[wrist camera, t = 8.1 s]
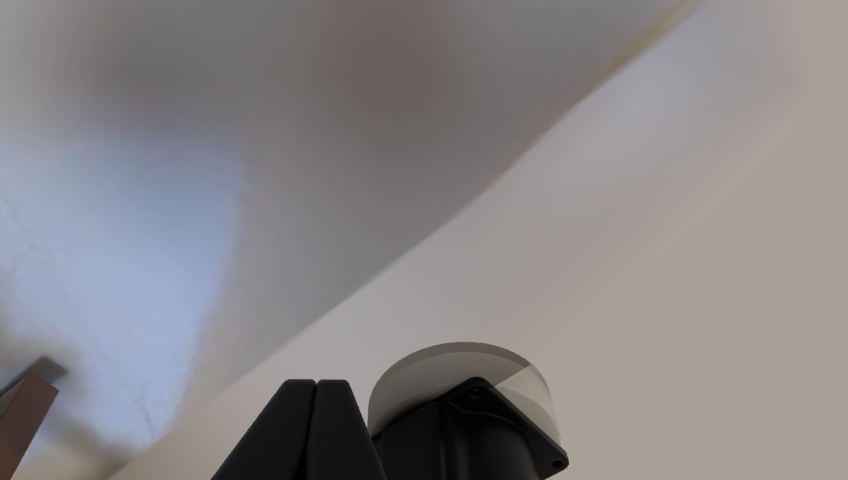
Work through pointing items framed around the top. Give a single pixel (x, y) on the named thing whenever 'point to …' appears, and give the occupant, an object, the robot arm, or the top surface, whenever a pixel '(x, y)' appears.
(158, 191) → the top surface
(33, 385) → the drawer
